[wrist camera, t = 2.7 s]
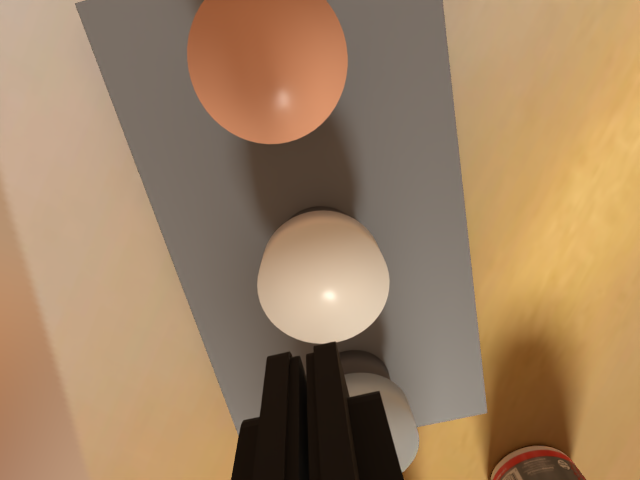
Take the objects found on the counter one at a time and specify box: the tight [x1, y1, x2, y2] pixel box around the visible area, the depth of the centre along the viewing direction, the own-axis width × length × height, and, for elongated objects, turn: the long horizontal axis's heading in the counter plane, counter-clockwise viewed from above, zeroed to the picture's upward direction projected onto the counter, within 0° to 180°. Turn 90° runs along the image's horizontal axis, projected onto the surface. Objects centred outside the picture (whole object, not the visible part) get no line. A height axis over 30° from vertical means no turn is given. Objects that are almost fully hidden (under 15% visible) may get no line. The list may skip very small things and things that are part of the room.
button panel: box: [75, 0, 487, 435], centre depth 20 cm, size 14×24×3 cm, turn 13°
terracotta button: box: [187, 0, 348, 144], centre depth 14 cm, size 5×5×2 cm
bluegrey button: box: [344, 373, 419, 472], centre depth 19 cm, size 5×5×2 cm
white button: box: [257, 210, 390, 344], centre depth 16 cm, size 5×5×2 cm
